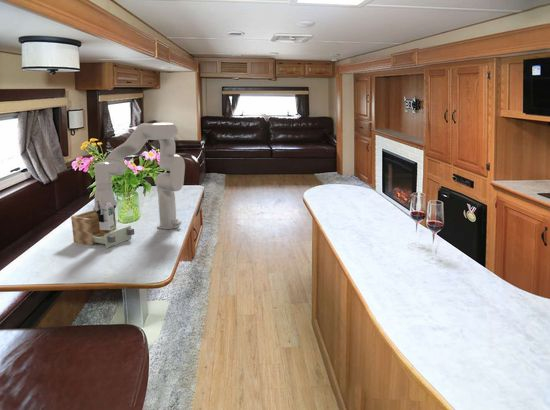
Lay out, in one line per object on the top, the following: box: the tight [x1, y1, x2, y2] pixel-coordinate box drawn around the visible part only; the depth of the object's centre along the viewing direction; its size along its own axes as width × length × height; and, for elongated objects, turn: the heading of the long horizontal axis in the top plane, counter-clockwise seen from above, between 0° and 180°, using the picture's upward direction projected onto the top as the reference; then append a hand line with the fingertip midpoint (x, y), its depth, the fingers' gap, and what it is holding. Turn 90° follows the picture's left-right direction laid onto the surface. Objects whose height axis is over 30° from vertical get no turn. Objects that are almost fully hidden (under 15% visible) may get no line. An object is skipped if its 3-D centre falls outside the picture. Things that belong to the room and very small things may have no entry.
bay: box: [70, 209, 117, 246], centre depth 271 cm, size 13×18×14 cm
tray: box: [93, 225, 135, 249], centre depth 266 cm, size 16×18×7 cm
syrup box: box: [98, 202, 115, 230], centre depth 262 cm, size 6×6×14 cm
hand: (106, 219), depth 262 cm, fingers closed on syrup box, 6 cm apart
